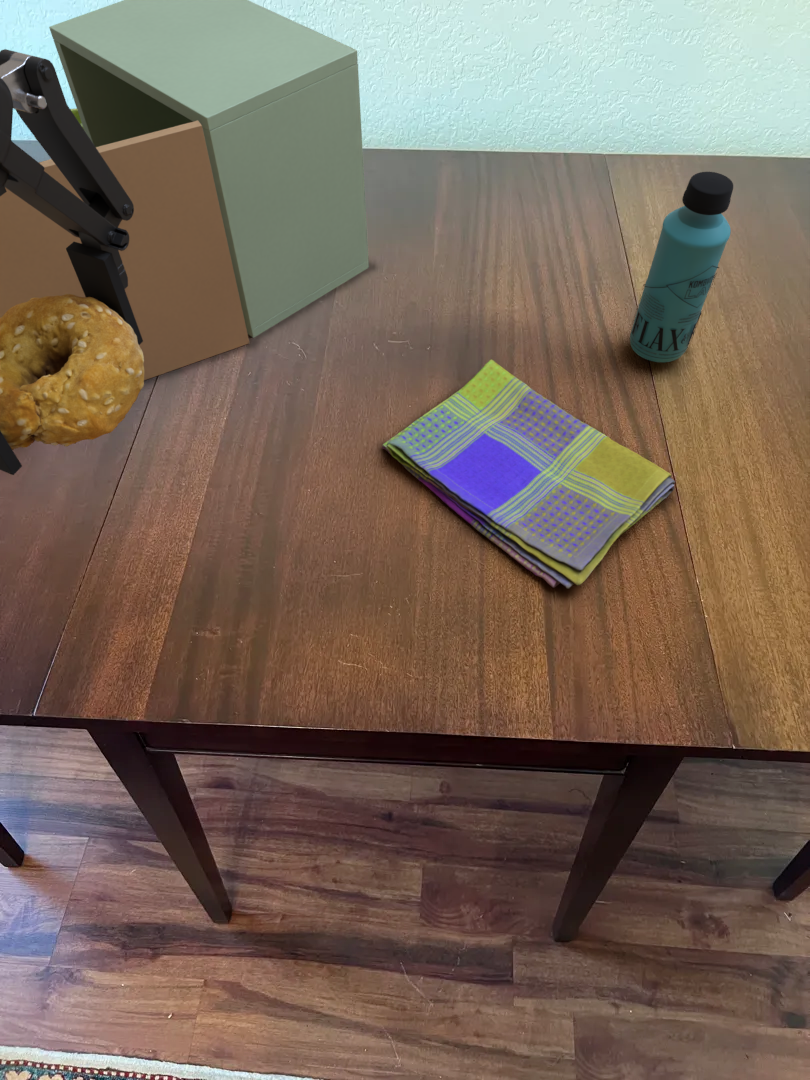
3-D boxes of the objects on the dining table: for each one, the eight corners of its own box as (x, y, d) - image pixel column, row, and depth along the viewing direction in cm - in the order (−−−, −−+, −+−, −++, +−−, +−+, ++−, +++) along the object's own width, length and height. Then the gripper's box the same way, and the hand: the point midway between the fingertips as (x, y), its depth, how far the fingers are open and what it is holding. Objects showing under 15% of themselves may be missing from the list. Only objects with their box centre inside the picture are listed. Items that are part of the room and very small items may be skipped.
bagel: (-59, 399, 48) (-100, 338, 44) (102, 319, 52) (77, 257, 48) (16, 494, 43) (-22, 436, 40) (184, 399, 48) (164, 338, 44)
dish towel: (494, 368, 85) (496, 349, 82) (684, 494, 74) (692, 475, 72) (376, 454, 78) (375, 435, 75) (567, 605, 67) (572, 588, 65)
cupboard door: (274, 381, 84) (231, 162, 64) (25, 472, 76) (-110, 258, 57) (246, 338, 88) (197, 120, 68) (7, 421, 80) (-124, 204, 61)
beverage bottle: (612, 354, 86) (659, 181, 69) (647, 326, 88) (700, 152, 72) (662, 383, 83) (723, 210, 67) (697, 353, 86) (764, 179, 69)
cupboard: (253, 338, 88) (206, 117, 68) (122, 241, 99) (48, 26, 79) (369, 268, 95) (357, 49, 75) (235, 184, 106) (193, -26, 86)
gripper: (-9, -131, 36) (129, 272, 54) (-530, 94, 24) (-130, 516, 42) (123, -109, 34) (221, 301, 53) (-369, 147, 22) (-23, 564, 40)
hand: (64, 397), depth 47 cm, fingers closed on bagel, 11 cm apart
